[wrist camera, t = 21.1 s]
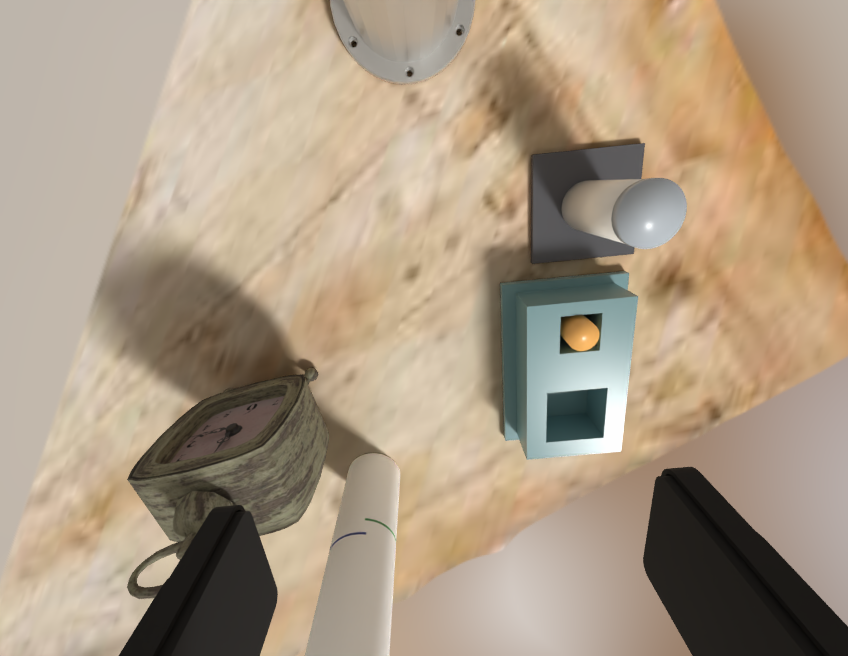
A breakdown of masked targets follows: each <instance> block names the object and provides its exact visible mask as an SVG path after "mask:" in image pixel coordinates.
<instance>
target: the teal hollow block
mask: <svg viewBox="0 0 848 656" xmlns="http://www.w3.org/2000/svg"><path fill="white" fill-rule="evenodd" d="M628 279H629V273H628V272H626V271H620V272H609V273H599V274H588V275H578V276H568V277H557V278H547V279H536V280H526V281H515V282H505V283H500V296H501V337H502V377H503V417H504V438H505V441H508V440H520V443H521V445H522V448H523V451H524V453H525V456H526V458H527V460H528V459H539V458H551V457H563V456H574V455H586V454H598V453H610V452H621V448H622V439H623V429H624V420H625V411H626V402H627V393H628V384H629V375H630V366H631V357H632V347H633V338H634V329H635V320H636V311H637V302H638V296H637V295H635V294H633V293H631V292H629V291H628V290H627V289H628ZM574 315H584V316H585V317H586V318H587V319H589V320H590V321H591V322H592V323H593V324H594V325H596V326H597V328H598V330H599V339H598V341H597V343H596V344H595V345H594V346H593V347H592V348H591V349H589V350H586V351H577V350H574V349H572V348H571V347H570V346H569V344H568V343H567V342H566V341H565V340H564V339H563V338H562V336H561V335H560V325H561V317H563V316H574Z"/></svg>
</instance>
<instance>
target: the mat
mask: <svg viewBox="0 0 848 656" xmlns="http://www.w3.org/2000/svg"><path fill="white" fill-rule="evenodd" d="M644 147H645V143H642V144H632V145H622V146H613V147H603V148H593V149H584V150H574V151H564V152H555V153H545V154H535V155H532V203H531V263H532V264H535V263H545V262H555V261H566V260H576V259H586V258H597V257H607V256H617V255H627V254H634V247H632V246H629V245H626V244H624V243H621V242H617V241H614V240H610V239H607V238H603V237H600V236H596V235H593V234H589V233H586V232H582V231H579V230H575V229H573V228H571V227H570V226H568V225H567V223H566V222H565V221H564V219H563V216H562V210H561V209H562V202H563V199H564V197H565V195H566V193H567V192H568V190H569V189H570V188H571V187H573V186H574V185H575V184H577V183H579V182H582V181H587V180H626V179H641V176H642V166H643V156H644Z"/></svg>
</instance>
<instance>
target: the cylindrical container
mask: <svg viewBox="0 0 848 656" xmlns="http://www.w3.org/2000/svg"><path fill="white" fill-rule="evenodd" d="M399 486H400V470H399V467H398V465H397V464H396V463H395V461H394V460H392V459H391V458H389V457H388V456H386V455H383V454H378V453H369V454H364V455H361V456H359V457H358V458H356V459H355V460H354V461H353V462H352V463H351V465H350V467H349V471H348V475H347V479H346V483H345V487H344V492H343V496H342V500H341V504H340V509H339V513H338V517H337V521H336V526H335V530H334V534H333V538H332V543H331V547H330V552H329V555H328V560H327V564H326V568H325V572H324V577H323V581H322V585H321V589H320V594H319V598H318V602H317V606H316V611H315V615H314V619H313V623H312V628H311V632H310V636H309V640H308V645H307V649H306V653H305V656H389V651H390V634H391V618H392V601H393V585H394V569H395V552H396V536H397V519H398V503H399Z"/></svg>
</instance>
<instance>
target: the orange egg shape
mask: <svg viewBox="0 0 848 656" xmlns="http://www.w3.org/2000/svg"><path fill="white" fill-rule="evenodd" d="M560 335H561V336H562V338H563V339H564V340H565V341H566V342H567V343H568V344H569V346H570V347H571V348H572V349H574V350H577V351H586V350H589V349H591V348H592V347H593V346H594V345H595V344H596V343H597V341H598V339H599V330H598V328H597V326H596V325H594V324H593V323H592V322H591V321H590V320H589V319H587V318H586V317H585V316H584V315H574V316H563V317H561V325H560Z"/></svg>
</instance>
